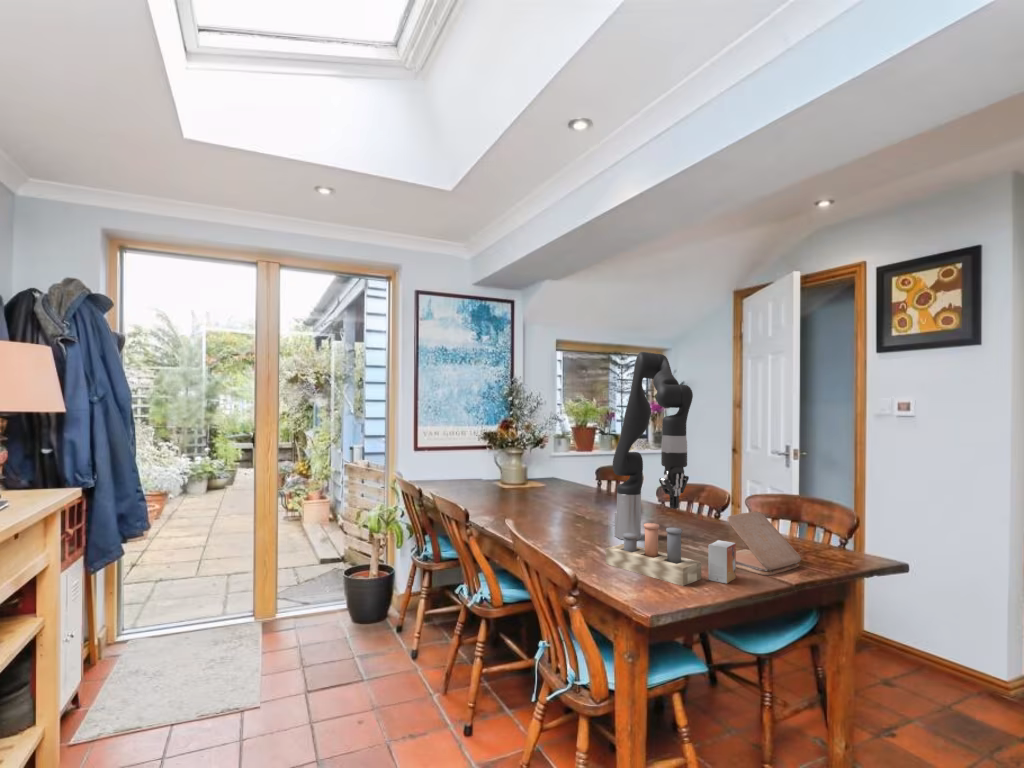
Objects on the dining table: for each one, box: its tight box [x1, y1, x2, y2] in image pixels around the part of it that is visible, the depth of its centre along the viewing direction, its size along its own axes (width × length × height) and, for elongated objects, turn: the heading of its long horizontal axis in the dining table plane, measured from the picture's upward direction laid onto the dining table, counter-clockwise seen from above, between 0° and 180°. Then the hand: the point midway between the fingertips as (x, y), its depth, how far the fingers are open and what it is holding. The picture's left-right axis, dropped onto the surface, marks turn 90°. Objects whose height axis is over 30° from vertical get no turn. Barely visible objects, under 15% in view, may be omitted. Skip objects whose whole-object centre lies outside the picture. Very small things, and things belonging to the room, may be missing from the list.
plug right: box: [665, 527, 683, 564], centre depth 165 cm, size 5×5×10 cm
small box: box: [707, 539, 737, 585], centre depth 164 cm, size 8×6×10 cm
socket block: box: [605, 543, 702, 587], centre depth 171 cm, size 28×10×5 cm, turn 41°
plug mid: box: [643, 522, 660, 558], centre depth 171 cm, size 5×5×10 cm
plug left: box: [623, 533, 638, 552], centre depth 177 cm, size 5×5×10 cm
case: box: [726, 511, 802, 577], centre depth 181 cm, size 20×21×16 cm
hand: (674, 508), depth 166 cm, fingers closed
